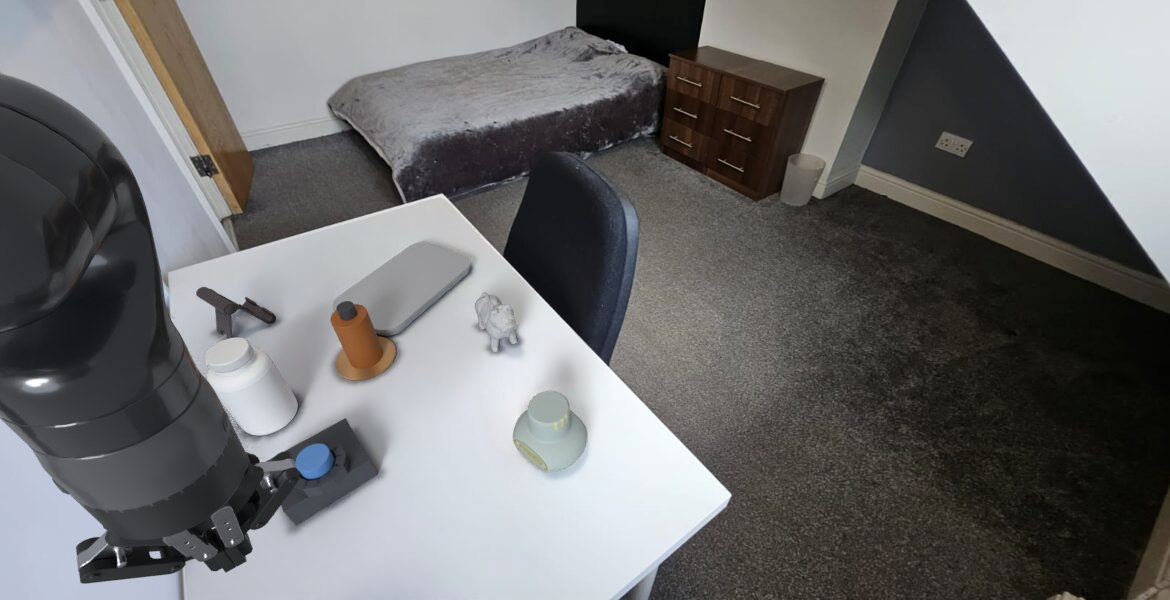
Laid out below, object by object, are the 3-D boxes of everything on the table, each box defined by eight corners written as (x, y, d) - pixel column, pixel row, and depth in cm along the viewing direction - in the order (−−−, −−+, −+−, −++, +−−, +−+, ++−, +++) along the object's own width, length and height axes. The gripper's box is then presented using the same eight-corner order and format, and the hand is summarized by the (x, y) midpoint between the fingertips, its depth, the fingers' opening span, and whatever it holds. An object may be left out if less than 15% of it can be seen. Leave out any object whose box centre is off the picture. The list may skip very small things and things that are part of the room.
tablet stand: (279, 320, 90) (259, 287, 84) (238, 346, 85) (214, 312, 79) (251, 304, 93) (231, 271, 88) (211, 328, 88) (186, 294, 82)
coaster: (349, 390, 78) (348, 388, 78) (327, 355, 83) (326, 354, 83) (405, 360, 83) (405, 358, 83) (382, 330, 88) (381, 328, 88)
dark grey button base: (298, 531, 61) (279, 510, 57) (276, 476, 66) (257, 454, 62) (380, 479, 66) (368, 457, 62) (353, 432, 72) (341, 409, 68)
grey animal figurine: (501, 367, 82) (495, 323, 75) (474, 323, 90) (466, 280, 83) (528, 355, 85) (525, 312, 77) (499, 313, 93) (493, 270, 85)
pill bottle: (304, 420, 73) (262, 356, 63) (245, 446, 70) (192, 382, 60) (295, 387, 78) (255, 322, 68) (239, 409, 75) (189, 344, 65)
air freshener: (505, 444, 71) (499, 404, 64) (543, 409, 76) (540, 368, 69) (559, 489, 66) (557, 450, 59) (596, 448, 71) (598, 409, 64)
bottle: (356, 373, 80) (333, 323, 72) (344, 354, 83) (320, 304, 75) (388, 358, 83) (369, 307, 75) (375, 340, 86) (355, 290, 78)
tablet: (328, 314, 91) (324, 305, 90) (421, 247, 109) (419, 238, 107) (391, 343, 86) (387, 334, 85) (478, 267, 103) (476, 259, 102)
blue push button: (307, 485, 60) (300, 477, 58) (297, 463, 62) (290, 455, 61) (338, 466, 62) (333, 458, 60) (328, 446, 64) (322, 437, 63)
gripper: (261, 359, 33) (305, 478, 45) (-18, 452, 26) (120, 569, 37) (297, 437, 30) (335, 546, 41) (-17, 574, 22) (136, 662, 33)
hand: (233, 557), depth 39 cm, fingers closed
